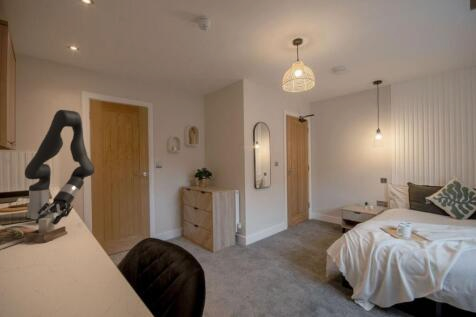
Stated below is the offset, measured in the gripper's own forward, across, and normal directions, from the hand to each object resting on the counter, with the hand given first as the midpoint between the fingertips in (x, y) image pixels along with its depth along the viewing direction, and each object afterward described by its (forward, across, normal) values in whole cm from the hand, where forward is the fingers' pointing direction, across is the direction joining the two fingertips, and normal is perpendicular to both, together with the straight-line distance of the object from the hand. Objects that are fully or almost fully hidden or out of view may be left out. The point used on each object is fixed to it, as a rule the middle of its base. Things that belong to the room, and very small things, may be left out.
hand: (45, 223), depth 102 cm
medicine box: (-11, -20, +21) cm, 31 cm away
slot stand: (+5, 0, +5) cm, 7 cm away
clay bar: (+4, 0, +4) cm, 6 cm away
